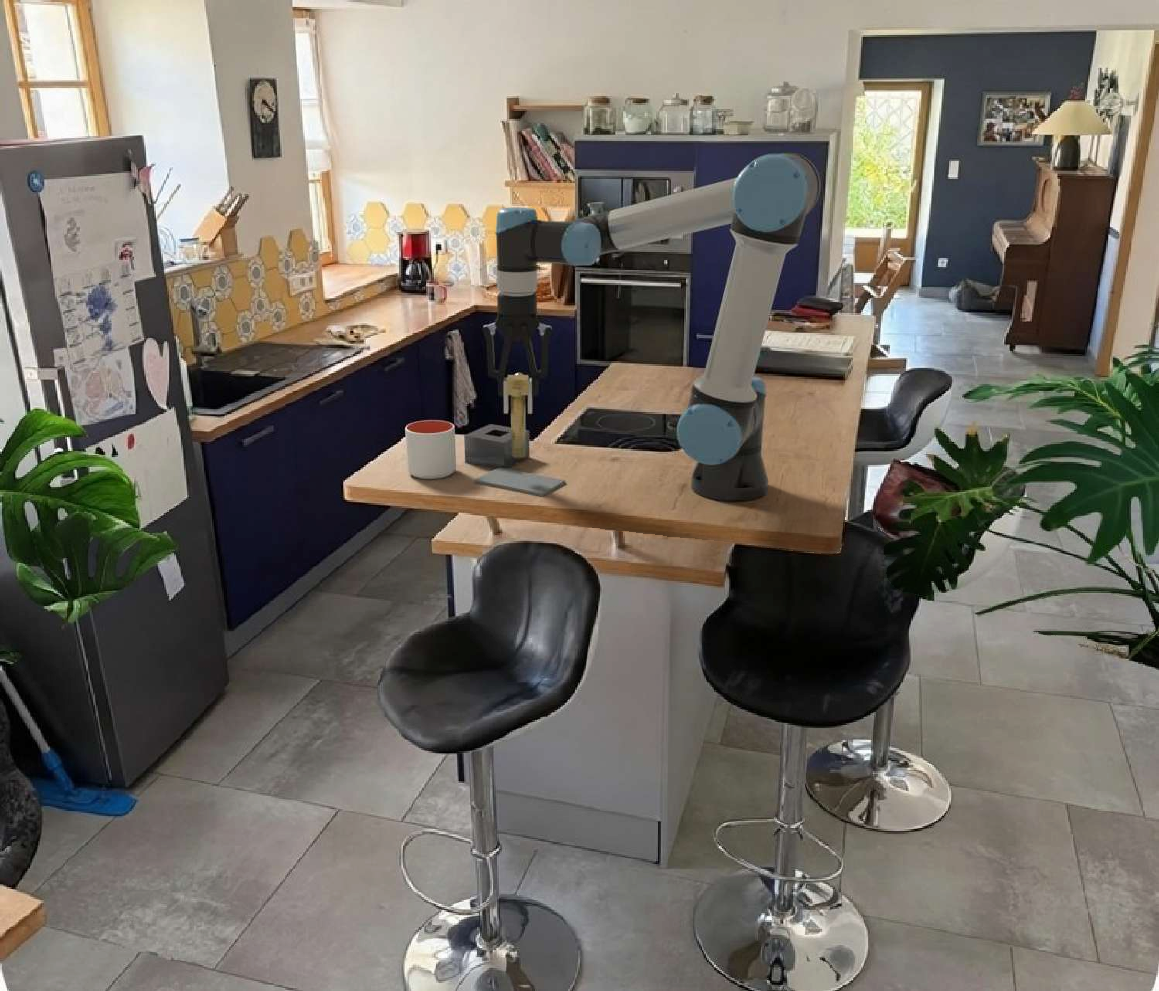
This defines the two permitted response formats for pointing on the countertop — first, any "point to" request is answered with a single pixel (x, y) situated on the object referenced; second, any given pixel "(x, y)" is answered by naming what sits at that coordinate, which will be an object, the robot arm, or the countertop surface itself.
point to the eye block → (492, 447)
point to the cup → (430, 449)
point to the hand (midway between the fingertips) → (518, 411)
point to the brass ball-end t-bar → (517, 412)
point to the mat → (520, 481)
